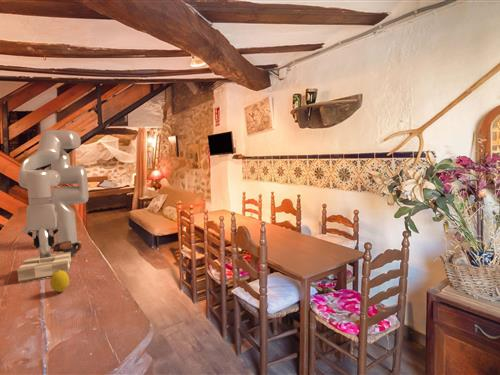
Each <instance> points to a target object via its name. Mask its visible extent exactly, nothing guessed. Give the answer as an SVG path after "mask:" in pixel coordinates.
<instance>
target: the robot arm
mask: <svg viewBox="0 0 500 375" xmlns="http://www.w3.org/2000/svg"><path fill="white" fill-rule="evenodd" d="M81 142H82V140H81V137H80V135H79V133H78V132H77V131H73V130H69V129H66V130H65V129H47V130H44V131H43V132H41V134H40V137H39V142H38V147H37V150H36V152H34V153H33V154H31V155H30V156H28V157H27V158H26V159H24V160H23V162H21V164H20V168H19V171H18V175H17V176H18V177H17V181H18V185H19V186H20V187H21V188H24V189H27V197H28V205H27V206H26V213H25V214H26V218H25V220H26V222H25V226H24V227H23V228H22V230H21V232H22V233H23V234H24V235H27V236H29V237H31V239H33V246H34V247H35V249H39V246H38V236H37V231H38V230H40V229H41V228H44V229H47V230H49V234H50V237H49V242H50V246H51V247H53V248H54V245H56V244H58V243H61V242H64V241H71V243H76V242H79V243H81V244H82V242H81V240H78V233H77V220H76V213H75V210H74V208H72V207H71V206H70V205H79V204H86V203H88V201H89V197H90V196H89V185H88V183H89V182H88V173H87V170H86V168H85V166H83V165H71V158H70V155H69V154H68V153H67V152H66V151H65V149H66V150H70V149H72V150H75V149H76V150H77V149H79V148H80V146H81V144H82V143H81ZM49 165H50V169H39V168H43V167H45V166H49ZM71 184H74V185H75V184H76V185H75V186H74V185H72V186H69V185H71ZM58 185H68V186H58ZM55 240H56V243H55ZM71 247H72V246H71Z"/></svg>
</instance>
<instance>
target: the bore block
mask: <svg viewBox="0 0 500 375" xmlns="http://www.w3.org/2000/svg"><path fill="white" fill-rule="evenodd" d="M70 265H71V266H72V257H71V252H66V253H64V252H58V253H53V254H52V253H51V256H50V257H46V258H40V256H31V257H26V258H25V260H23V262H22V264H21V265H20V266H19V268H18V269H17V278H18V279H17V280H18V284H22V283H21V282H24V283H29V282H28V281H30V282H34V281H33V280H36V281H39V280H38V279H42V278H46V277H51V276H52V275H53V274H54V273H55V272H57V271H58V270H61V271H65V272H66V273H68V272H69V273H70V271H69V269H71V267H70ZM42 280H43V279H42Z"/></svg>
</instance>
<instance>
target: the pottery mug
mask: <svg viewBox="0 0 500 375" xmlns="http://www.w3.org/2000/svg"><path fill="white" fill-rule="evenodd" d="M55 244H56V243H55ZM53 245H54V244H53ZM71 246H72V247H71ZM82 246H83V245H82V242H81V243H79V242H76V243H71V241H64V242H61V243H58V244H56V245H54V247H53V249H52V250H53V251H52V253H55V252H56V253H61V252H62V253H66V252H71V256H73V257H75V254H77V253H78V251H80V250H81V249H82Z"/></svg>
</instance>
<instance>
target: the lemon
mask: <svg viewBox="0 0 500 375" xmlns="http://www.w3.org/2000/svg"><path fill="white" fill-rule="evenodd" d="M69 285H70V277H69V275H68V274H67V273H66V272H65V271H61V270H58V271H57V272H55V273H54V274H53V275H52V276H51V278H50V287H51V289H52V290H53V291H55V292H59V293H62V292H64V291H65V290H66V289H67V288H68V287H69ZM61 291H62V292H61Z"/></svg>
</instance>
